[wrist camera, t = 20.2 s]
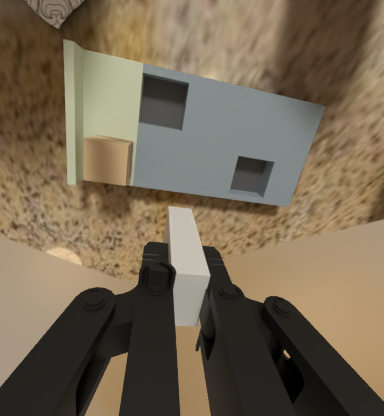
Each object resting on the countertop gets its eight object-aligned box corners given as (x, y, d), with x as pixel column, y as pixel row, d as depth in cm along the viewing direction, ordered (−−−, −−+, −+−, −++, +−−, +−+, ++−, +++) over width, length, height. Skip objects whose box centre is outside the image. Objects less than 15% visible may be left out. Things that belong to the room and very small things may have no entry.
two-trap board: (313, 106, 34) (341, 105, 29) (279, 200, 40) (298, 214, 35) (82, 53, 28) (63, 38, 23) (83, 173, 34) (67, 184, 29)
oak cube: (133, 140, 30) (128, 145, 26) (130, 175, 32) (125, 185, 28) (95, 134, 30) (83, 138, 25) (95, 170, 31) (83, 180, 27)
